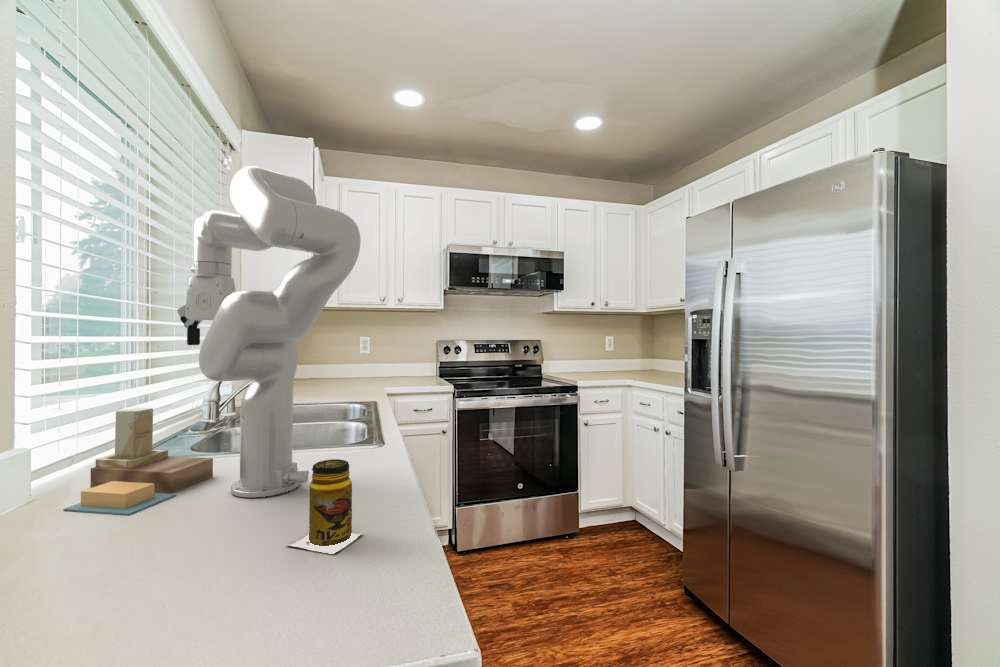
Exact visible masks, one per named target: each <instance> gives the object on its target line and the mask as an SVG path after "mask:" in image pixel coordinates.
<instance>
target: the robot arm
mask: <svg viewBox="0 0 1000 667" xmlns="http://www.w3.org/2000/svg"><path fill="white" fill-rule="evenodd" d="M229 194H230V195H229V197H230V200H231V203H232V205H233V207H234V209H235V211H236V212H237V213H238V214H236V213H230V212H225V211H220V210H208V211H206V212H205V213H204V214H203V216H201V217H198V218H196V219H195V222H194V226H193V227H194V233H193V235H194V236H193V237H194V240H193V241H194V242H193V246H194V247H193V251H194V252H193V254H194V255H193V256H194V257H193V266H192V267H191V268H190V272H191V273H193V276H190V278H189V281H188V285H187V291H186V298H185V299H186V300H185V304H184V305H183V306H181V307H179V308H178V309H177V310H176V311H177V314H178V315H179V319H180V321H181V322H182V323H183V326H184V328H185V329H186V330H187V331H186V344H187V346H199V345H200V344H201V329H200V327H199V325H200V324H201V323H202V322H203V321H212V322H211V324H210V327H209V328H208V331H207V333H206V334H205V336H204V339H203V341H202V344H201V345H200V348H199V349H200V350H199V354H198V355H199V356H198V364H199V369H200V371H201V373H202V374H203V376H204V377H206V378H207V379H209V380H210V381H213V382H236V381H237V382H238V381H251V382H250V384H249V385H248V387H247V388H246V390H245V392H244V393H243V395H242V398H241V402H240V411H239V412H240V417H239V418H240V420H239V421H240V422H239V424H240V426H239V428H240V429H239V432H240V433H239V434H240V435H239V437H240V438H239V448H240V449H239V480H237V481H235V482H233V483H232V485H230V493H231V494H232V495H233V496H236V497H239V498H250V499H251V498H265V497H266V496H267V497H271V496H272V497H273V496H277V494H278V495H282V494H285V492H286V493H288V491H289V492H291V491H293V490H295V489H296V487H297V488H299V486H300V484H301V483H302V484H306V483H307V482H308V480H309V474H310V471H309V470H304V469H302V470H301V469H300V470H299V469H298V462H293V422H294V421H293V417H294V416H293V414H294V413H293V411H294V386H295V377H296V373H297V372H296V371H297V368H298V362H299V356H300V354H299V353H300V350H299V346H298V343H297V342H298V341H301V340H303V339H304V338H305V337H306V336H307V334H308V333H309V332H310V330H311V329H312V327H313V325H314V324H315V322H316V320H317V319H318V318H319V317H320V315H321V314H322V311H323V310H324V308H325V306H326V304H327V303H328V301H329V300H330V299H331V297H332V296H333V294H334V293H335V291H337V290H338V288H339V287H340V285H342V284H343V283H344V281H345V280H347V278H348V277H349V275H350V274H351V272H352V271H353V269H354V268H355V266H356V263H357V261H358V258H359V253H360V251H361V250H360V249H361V232H360V229H359V227H358V225H357V223H356V222H355V221H354V219H353V218H352V217H350V216H349V215H347V214H345V213H344V212H341V211H339V210H337V209H333V208H330V207H326V206H322V205H320V204H319V205H318V204H317V201H318V200H317V196H316V193H315V191H314V190H313V188H312V187H311V186H310V184H308V183H307V182H305V181H304V180H302V179H301V178H297V177H295V176H293V175H288V174H285V173H281V172H277V171H274V170H270V169H268V168H264V167H260V166H253V165H251V166H245V167H243V168H241V169H240V170H238V171H237V172H236V173H235V175H234V176H233V178H232V179H231V183H230V187H229ZM274 247H275V248H279V249H286V250H292V251H299V252H306V253H311V254H312V255H311V256H308V258H305V259H304V260H302V261H300V262H298V263H297V264H295V265H294V266H293V267H292V268H291V269H289V271H287V273H286V274H285V276H284V278H283V280H282V282H281V283H280V285H279V286H278V288H276V289H275V290H271V291H270V290H269V291H266V290H264V291H263V290H254V289H253V290H251V289H249V290H247V289H246V290H244V289H243V290H242V289H241V290H237V289H236V286H235V285H236V284H235V279H234V278H233V277H232V265H233V264H232V263H233V261H232V254H233V253H232V250H233V249H232V248H234V249H241V250H247V251H254V252H260V251H267V250H268V249H269V250H270V249H272V248H274ZM281 493H282V494H281ZM267 497H266V498H267Z"/></svg>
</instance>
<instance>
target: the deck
mask: <svg viewBox="0 0 1000 667" xmlns="http://www.w3.org/2000/svg"><path fill="white" fill-rule="evenodd" d="M213 475H214V458H213V457H198V456H197V457H195V456H180V455H179V456H176V455H174V456H173V455H169V450H168V449H167V450H166V449H165V450H163V449H152V454H149V455H146V456H142V457H139V458H135V459H132V460H125V459H115V453H114V454H110V455H107V456H103V457H100V458H96V459H95V466H94V467H91V468H90V487H89V488H93V487H96V486H99V485H102V484H105V483H108V482H111V481H120V482H137V483H153V484H154V493H166V494H174V493H176V492H178V491H180V490H183V489H185V488H189V487H190V486H193V485H196V484H198V483H201V482H203V481H205V480H209V479H211V478H213ZM210 477H211V478H210Z"/></svg>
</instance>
